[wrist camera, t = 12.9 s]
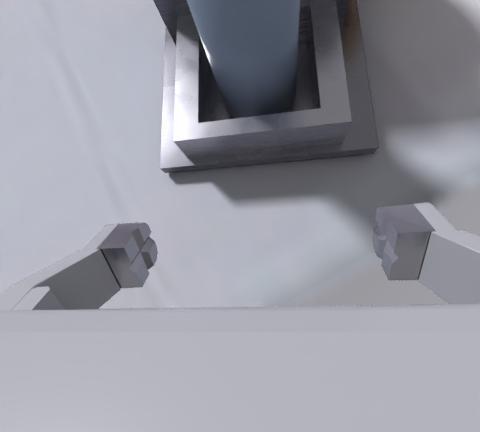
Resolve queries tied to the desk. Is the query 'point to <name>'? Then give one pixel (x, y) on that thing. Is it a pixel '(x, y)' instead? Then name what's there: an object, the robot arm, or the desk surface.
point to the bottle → (251, 52)
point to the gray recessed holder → (273, 125)
